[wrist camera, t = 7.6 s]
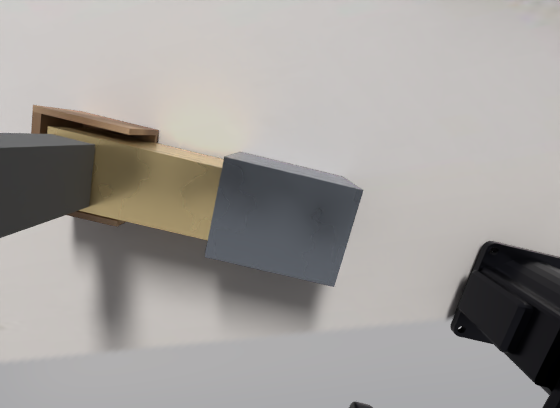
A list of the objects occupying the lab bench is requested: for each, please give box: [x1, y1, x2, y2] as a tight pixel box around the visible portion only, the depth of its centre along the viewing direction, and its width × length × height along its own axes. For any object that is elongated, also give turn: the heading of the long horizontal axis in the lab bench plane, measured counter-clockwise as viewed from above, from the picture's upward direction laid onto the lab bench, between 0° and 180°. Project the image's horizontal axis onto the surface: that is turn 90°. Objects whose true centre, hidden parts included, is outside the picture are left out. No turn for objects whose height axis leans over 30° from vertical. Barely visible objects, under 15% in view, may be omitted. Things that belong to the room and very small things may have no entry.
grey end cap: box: [205, 152, 363, 287], centre depth 16 cm, size 6×5×5 cm
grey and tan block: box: [0, 126, 224, 240], centre depth 13 cm, size 9×4×10 cm, turn 77°
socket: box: [31, 105, 159, 227], centre depth 17 cm, size 5×5×3 cm
